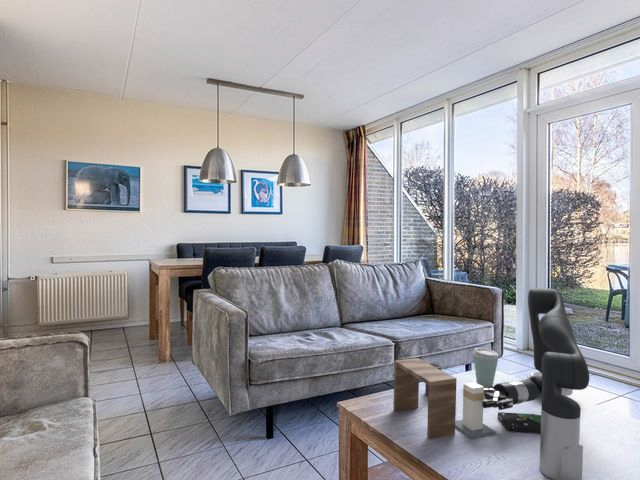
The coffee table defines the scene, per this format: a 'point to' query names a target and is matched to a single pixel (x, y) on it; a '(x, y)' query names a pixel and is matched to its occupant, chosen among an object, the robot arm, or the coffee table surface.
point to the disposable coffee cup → (485, 366)
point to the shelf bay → (438, 394)
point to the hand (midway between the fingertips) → (473, 399)
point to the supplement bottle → (427, 384)
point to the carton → (473, 405)
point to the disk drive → (520, 422)
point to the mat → (473, 433)
